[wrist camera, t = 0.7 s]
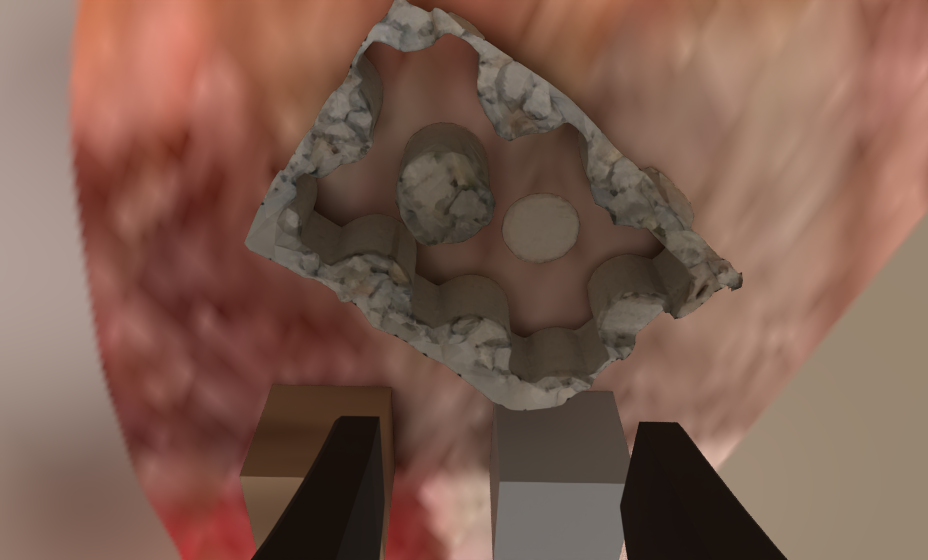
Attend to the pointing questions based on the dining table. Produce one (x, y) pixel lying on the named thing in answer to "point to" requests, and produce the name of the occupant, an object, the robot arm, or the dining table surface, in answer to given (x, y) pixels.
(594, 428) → the slate-grey block
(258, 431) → the walnut block
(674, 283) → the grey piece
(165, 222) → the dining table surface
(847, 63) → the dining table surface
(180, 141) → the dining table surface
